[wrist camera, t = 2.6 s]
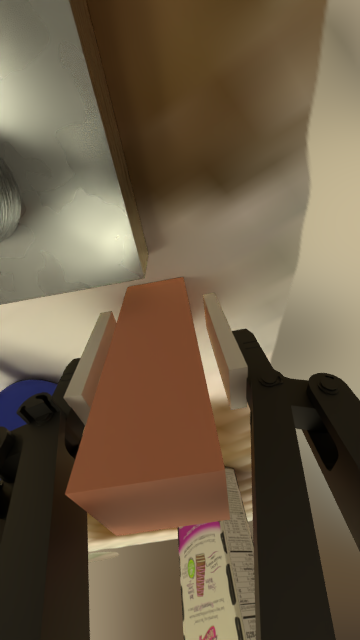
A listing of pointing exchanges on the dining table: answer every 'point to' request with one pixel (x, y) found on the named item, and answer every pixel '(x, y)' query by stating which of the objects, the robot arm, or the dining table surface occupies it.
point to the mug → (20, 400)
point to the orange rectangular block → (151, 423)
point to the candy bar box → (218, 574)
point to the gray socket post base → (60, 159)
